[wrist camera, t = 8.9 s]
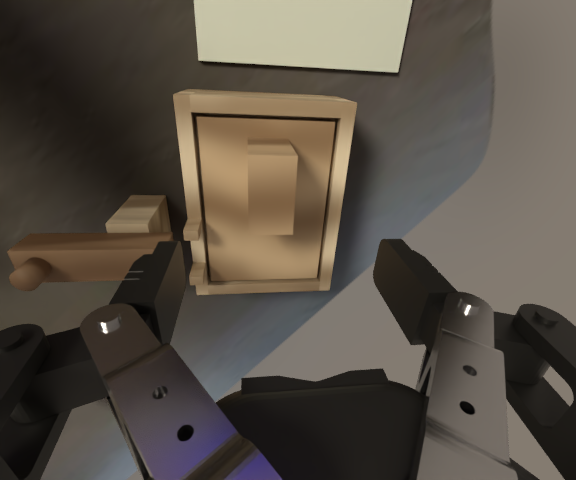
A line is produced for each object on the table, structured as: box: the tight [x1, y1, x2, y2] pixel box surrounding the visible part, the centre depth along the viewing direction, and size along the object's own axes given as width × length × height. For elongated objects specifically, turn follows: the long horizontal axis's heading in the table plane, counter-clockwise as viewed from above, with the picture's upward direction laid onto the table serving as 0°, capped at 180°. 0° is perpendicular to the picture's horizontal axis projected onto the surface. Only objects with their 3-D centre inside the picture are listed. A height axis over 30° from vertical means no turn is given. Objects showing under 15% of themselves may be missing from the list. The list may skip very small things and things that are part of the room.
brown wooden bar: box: [7, 232, 174, 291], centre depth 22 cm, size 3×10×4 cm, turn 87°
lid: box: [197, 115, 335, 281], centre depth 22 cm, size 13×9×6 cm
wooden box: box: [105, 89, 357, 295], centre depth 25 cm, size 16×18×8 cm
